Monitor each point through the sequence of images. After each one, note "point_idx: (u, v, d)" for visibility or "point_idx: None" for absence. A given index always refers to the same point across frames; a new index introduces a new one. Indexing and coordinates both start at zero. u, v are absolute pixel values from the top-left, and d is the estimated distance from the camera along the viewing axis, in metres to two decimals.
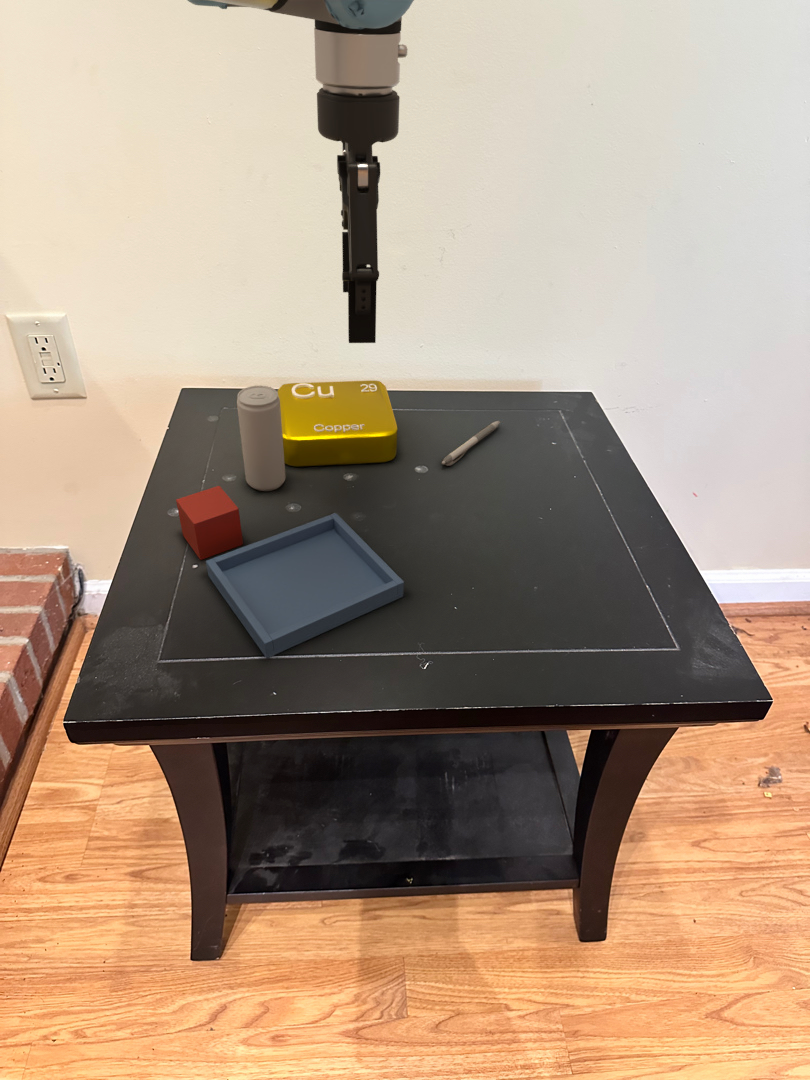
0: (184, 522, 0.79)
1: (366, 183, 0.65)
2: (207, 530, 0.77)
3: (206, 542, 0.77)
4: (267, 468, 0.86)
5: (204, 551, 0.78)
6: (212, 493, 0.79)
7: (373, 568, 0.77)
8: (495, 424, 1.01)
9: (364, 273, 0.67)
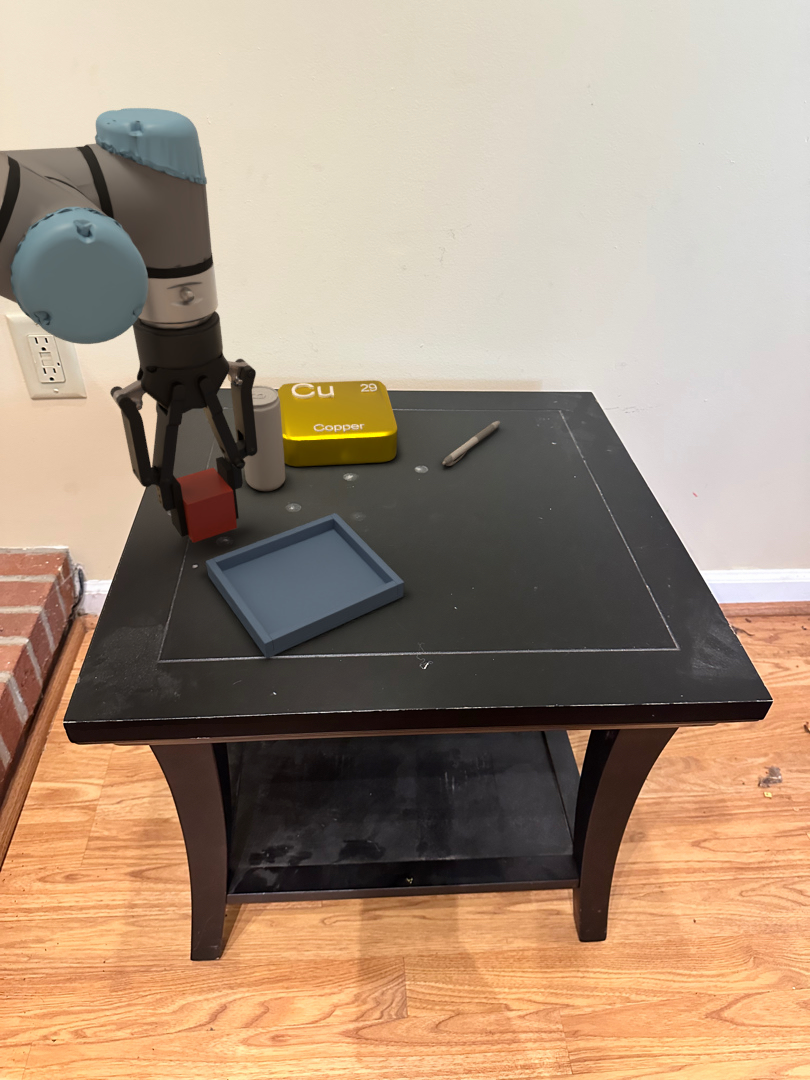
0: None
1: (123, 410, 0.66)
2: (200, 512, 0.75)
3: (199, 524, 0.76)
4: (267, 468, 0.86)
5: (197, 534, 0.76)
6: (206, 474, 0.78)
7: (373, 568, 0.77)
8: (495, 424, 1.00)
9: (137, 477, 0.71)
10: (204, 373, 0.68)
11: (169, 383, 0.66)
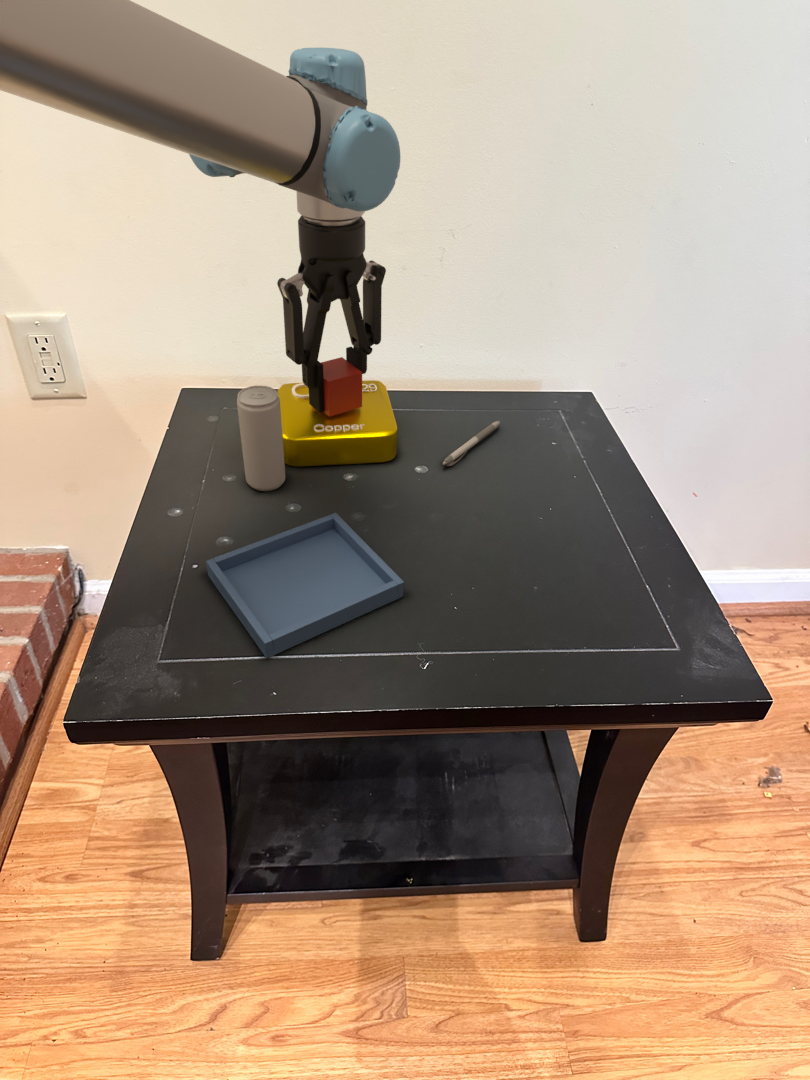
0: None
1: (287, 297, 0.83)
2: (337, 389, 0.92)
3: (335, 400, 0.92)
4: (267, 468, 0.86)
5: (332, 409, 0.93)
6: (337, 361, 0.94)
7: (373, 568, 0.77)
8: (495, 424, 1.00)
9: (290, 357, 0.88)
10: (349, 268, 0.85)
11: (323, 275, 0.83)
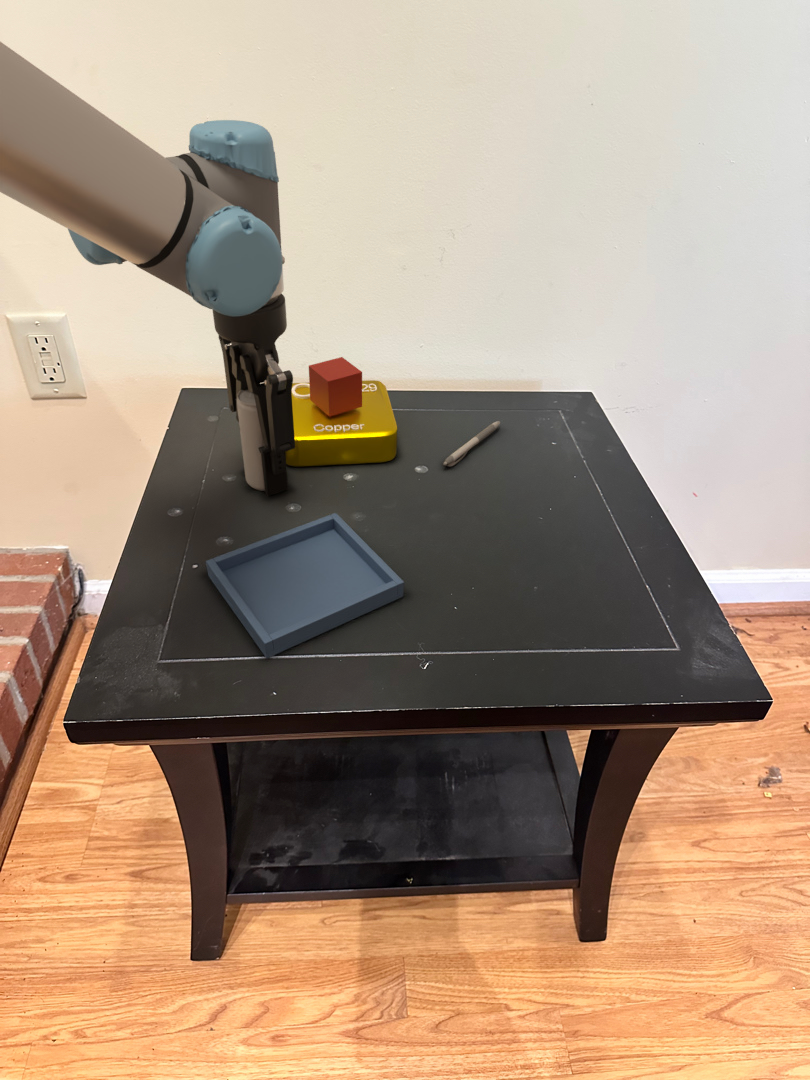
0: (315, 385, 0.93)
1: (284, 387, 0.76)
2: (337, 389, 0.92)
3: (335, 399, 0.92)
4: None
5: (332, 408, 0.93)
6: (337, 361, 0.94)
7: (373, 568, 0.77)
8: (495, 424, 1.00)
9: (285, 449, 0.81)
10: None
11: None
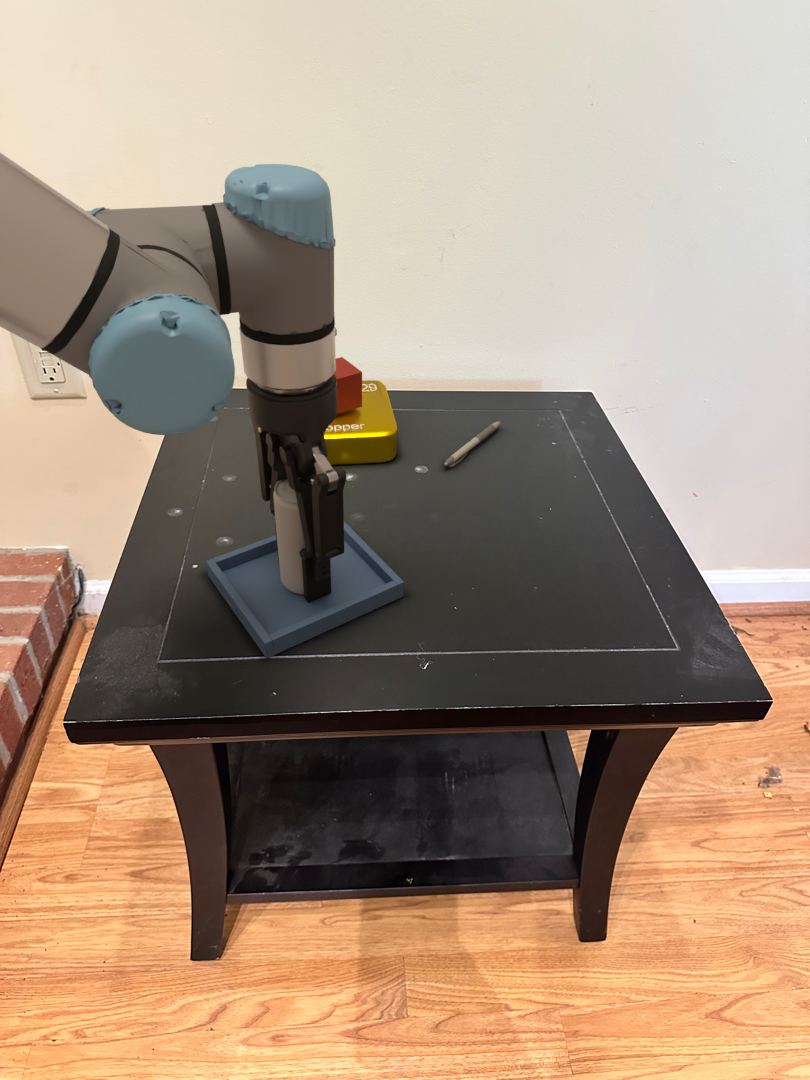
0: None
1: (334, 488, 0.62)
2: (337, 389, 0.92)
3: None
4: None
5: None
6: (337, 361, 0.94)
7: (373, 568, 0.77)
8: (495, 424, 1.00)
9: (332, 555, 0.67)
10: None
11: None
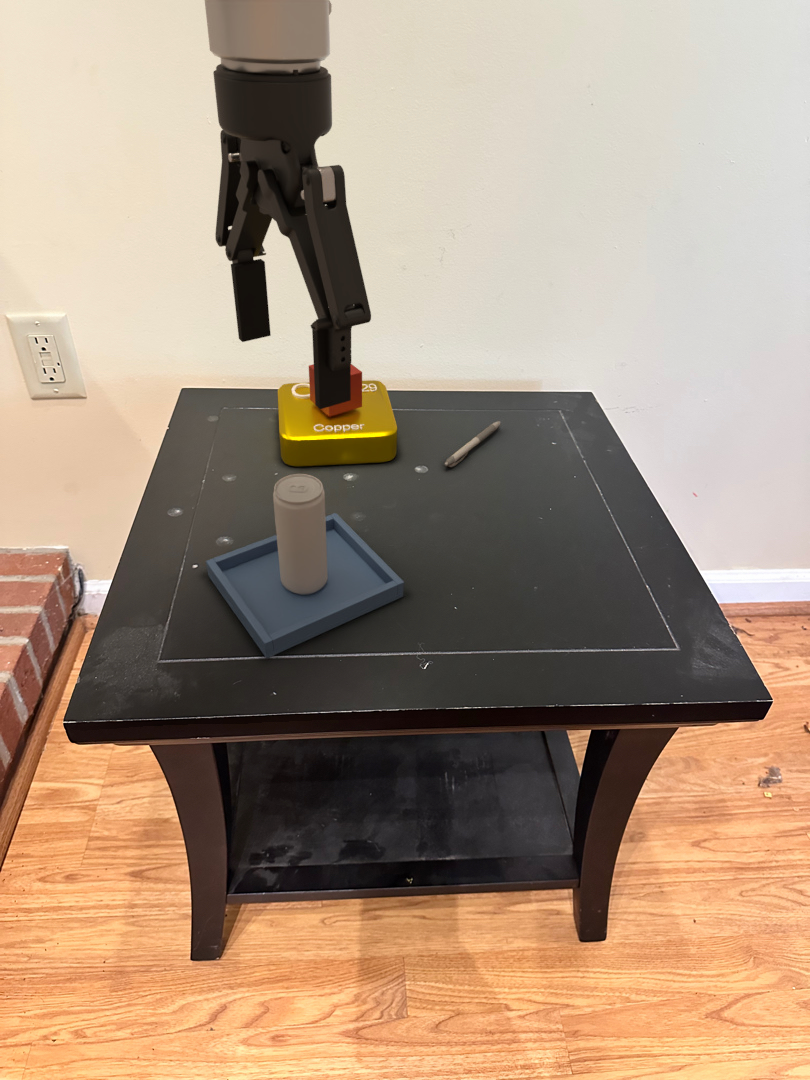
0: None
1: (333, 194, 0.47)
2: None
3: None
4: (308, 571, 0.72)
5: (332, 408, 0.93)
6: None
7: (373, 568, 0.77)
8: (496, 424, 1.00)
9: (354, 316, 0.49)
10: None
11: None
